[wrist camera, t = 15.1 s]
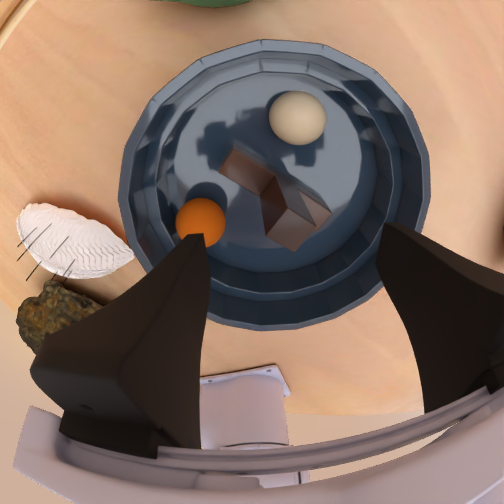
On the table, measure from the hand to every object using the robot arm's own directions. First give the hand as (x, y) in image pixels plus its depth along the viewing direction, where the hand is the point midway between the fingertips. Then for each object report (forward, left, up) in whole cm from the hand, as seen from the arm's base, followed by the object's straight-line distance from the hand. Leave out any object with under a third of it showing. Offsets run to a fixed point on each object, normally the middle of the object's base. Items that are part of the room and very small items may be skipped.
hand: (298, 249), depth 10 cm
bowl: (0, 0, -8) cm, 8 cm away
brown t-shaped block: (0, 0, -7) cm, 7 cm away
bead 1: (-5, 0, -6) cm, 8 cm away
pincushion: (-16, +2, -8) cm, 18 cm away
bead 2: (+2, +4, -6) cm, 7 cm away
